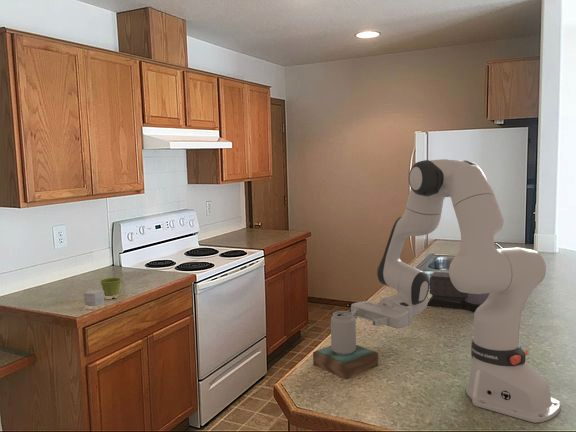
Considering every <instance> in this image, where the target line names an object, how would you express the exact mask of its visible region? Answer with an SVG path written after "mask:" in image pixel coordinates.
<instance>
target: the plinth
mask: <svg viewBox="0 0 576 432" xmlns="http://www.w3.org/2000/svg"><path fill="white" fill-rule="evenodd" d="M312 357H313V358H312V359H313V361H312V362H313V363H312V364H313V366H316V367H318V368H319V369H320V368H321V369H323V370H324V371H327V372H330V373H331V374H333V375H336V376H338V377H340V378H343V379H345V380H347V379H350V378H352V377H354V376H357V375H359V374H361V373H365V372H367V371H368V370H370V369H373V368H375V367H378V366H379V352H377V351H375V350H371V349H368V348H367V347H363V346H360V345H359V344H358V345H357V344H356V350H355V351H354V352H353V353H352V354H349V355H339V354H336V353H334V351H332V349H331V345H328V346H326V347H324V348H320V349H317V350H316V351H313V352H312Z"/></svg>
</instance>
